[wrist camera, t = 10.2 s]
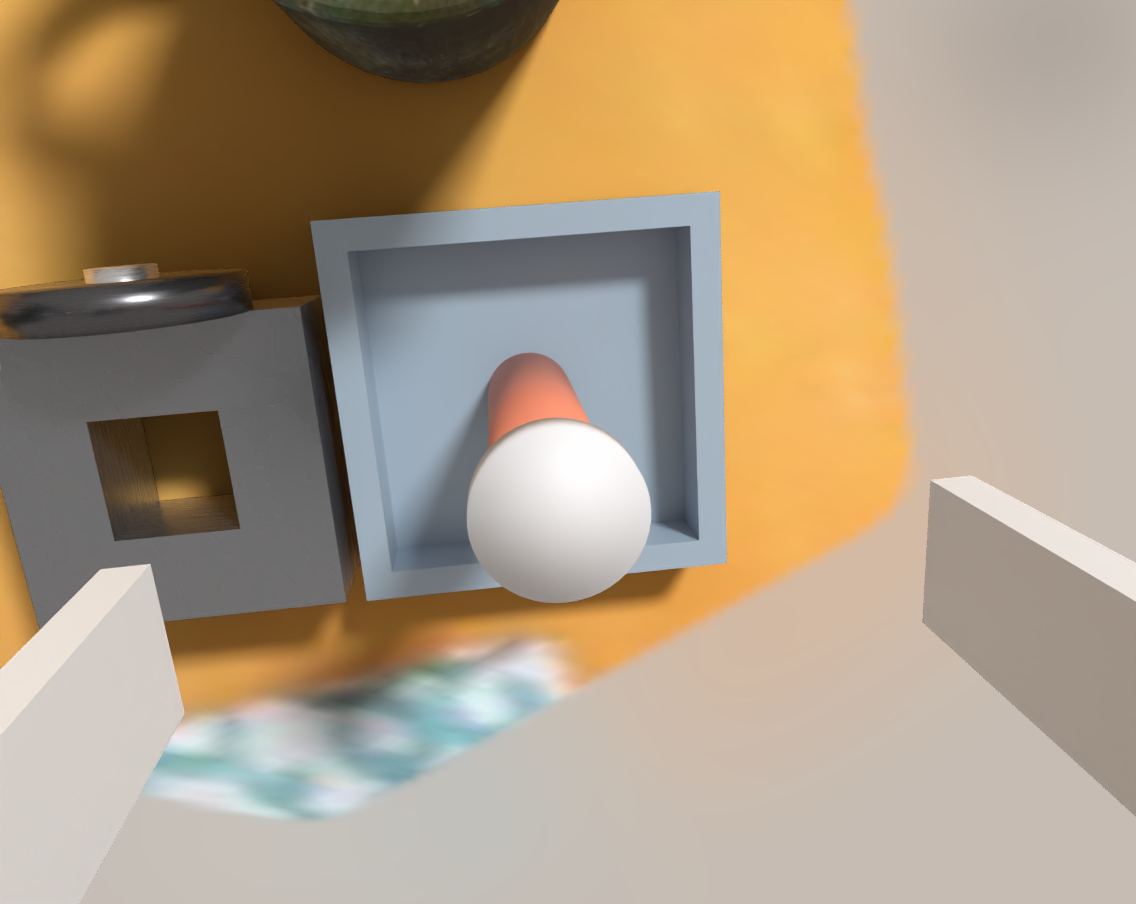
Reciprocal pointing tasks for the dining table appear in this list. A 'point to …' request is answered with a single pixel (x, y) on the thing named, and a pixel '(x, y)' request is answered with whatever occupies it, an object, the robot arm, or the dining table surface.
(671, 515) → the tray
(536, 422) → the pin
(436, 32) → the mug
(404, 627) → the dining table surface
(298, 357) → the block
